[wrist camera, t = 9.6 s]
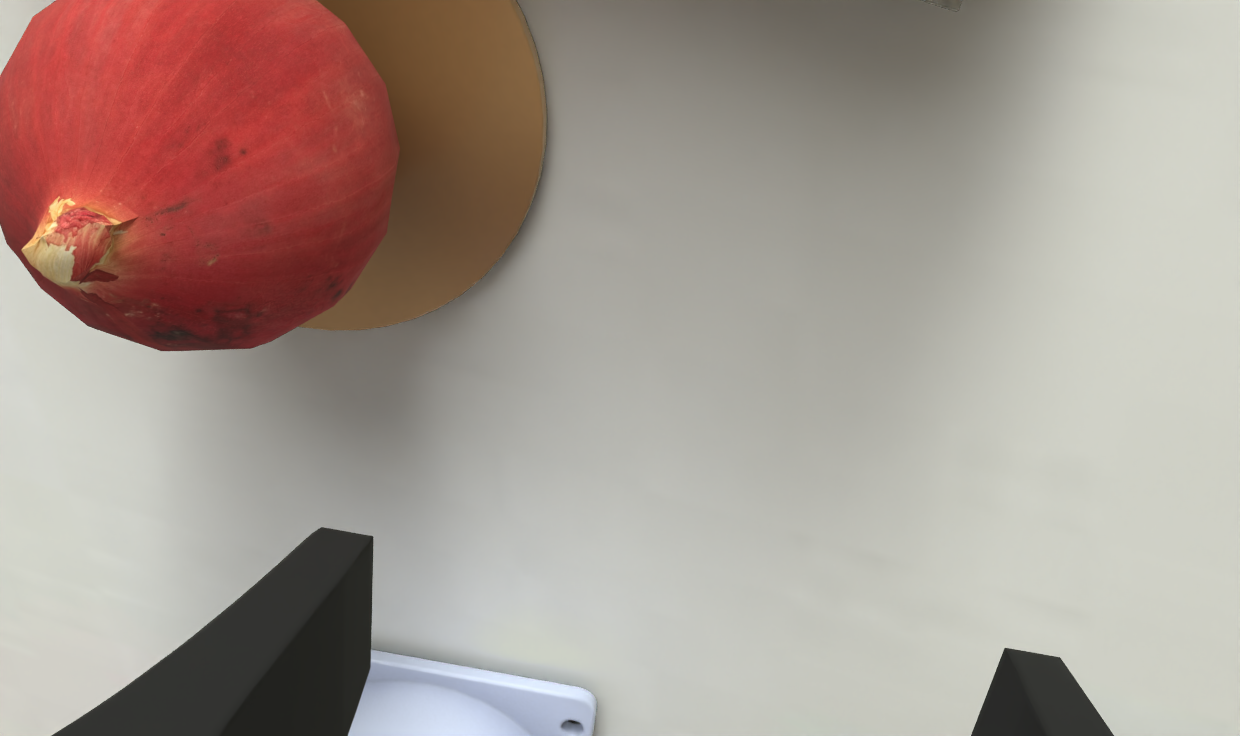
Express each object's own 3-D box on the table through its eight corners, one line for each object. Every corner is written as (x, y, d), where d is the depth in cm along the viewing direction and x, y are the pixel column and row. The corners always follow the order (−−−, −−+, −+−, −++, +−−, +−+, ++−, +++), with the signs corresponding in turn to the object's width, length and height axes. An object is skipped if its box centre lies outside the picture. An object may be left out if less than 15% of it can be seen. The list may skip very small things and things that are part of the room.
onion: (475, 229, 22) (334, 471, 15) (189, 246, 23) (-65, 482, 16) (414, -100, 19) (209, 14, 13) (92, -66, 20) (-264, 57, 13)
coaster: (526, 356, 24) (522, 365, 24) (94, 282, 24) (84, 291, 24) (571, -120, 19) (567, -116, 19) (39, -199, 20) (26, -197, 19)
